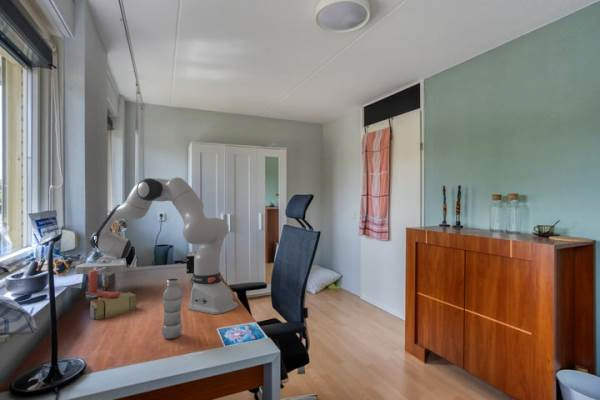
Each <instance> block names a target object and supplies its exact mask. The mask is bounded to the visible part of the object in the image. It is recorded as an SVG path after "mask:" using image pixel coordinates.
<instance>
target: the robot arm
mask: <svg viewBox="0 0 600 400" xmlns="http://www.w3.org/2000/svg"><path fill="white" fill-rule="evenodd" d="M167 201H169V202H171V203H172V205H173V206H174V207H175V209H176V210H177V212H178V213H179V215H180V216H181V218H182V221H183V224H184V227H183V230H182V236H183V239H184V240H185V241H186V243H189V244H191V245H199V247H198V250H197V251H196V252H197V253H196V254H195V257H194V273H193V282H194V283H192V284H193V285H192V288H191V290H190V291H191V292H190V301H189V305H188V307H187V309H188V310H192V311H197V312H201V313H206V314H210V315H211V314H212V315H219V314H220V315H221V314H224V313H227V312H230V311H232V310H234V309H236V308H238V306H239V303H238V302H236V301H234V300H233V293H232V291H231V290H230V288H228V287H227V286H226V284H225V283H224V282H223V279H224V275H222V274H221V271H220V260H221V259H220V256H221V251H222V247H223V243H224V240H225V238H226V236H227V235H228V233H229V228H230V227H229V224H228V223H227V221H226V220H224V219H221V218H218V217H211V218H210V217H209V218H208V217H207V216H206V215H205V213H204V203H203V202H202V200H201V199H200V197H199V196H198V195H197V193H196V191H194V189H193V188H192V187H191V186H190V185H189V184H188V182H186V180H185V179H183V178H181V177H178V176H176V177H173V178H171V179H167V178H166V179H165V178H159V177H158V178H150V177H149V178H143V179H141V180H140V181H139V182H138V183H136V184H134V186H133V187H132V189H131V191H130V192H129V194H128V195H127V198H126V200H125V201H124V202H123V203H122V204H117V205H116V206H115V207H113V208H112V210H111V211H110V212H109V213H108V215H107V217H106V218H105V219H104V221H103V222H102V223H101V224H100V226H99V228H98V229H97V230H96V231H95V232H94V233H93V234H92V235H91V237H90V238H89V239H90V240H89V244H90V246H91V247H92V249H94V248H95V246H96V247H97V248H98V249H99V251H102V252H104V253H106V254H104V255H105V256H104V255H102V256H101V257H99V258H98V259H96V261H95V262H88V263H87V262H86V263H81V264H78V265H76V266H75V271H74V273H75V275H86V274H87V275H89V271H91V270H97V275H101V276H107V275H110V274H111V275H112V274H114V273H125V272H127V259H126V258H127V257H128V256H129V254H130V252H131V250H132V242H131V240H130V239H129V238H126V237H123V236H120V235H118V234H116V233H113V232H111V231H110V229H111V227H112V226H113V224H114V223H115V222H116V221H117V220H128V221H129V220H130V221H131V220H132V221H133V220H139V219H142V218H143V217H145V216H146V215H147V213H148V212H149V210H150V209H151V206H152V203H153V202H160V203H161V202H167ZM94 236H97V241H96V243H95V240H94ZM98 249H97V250H98Z"/></svg>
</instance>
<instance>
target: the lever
mask: <svg viewBox="0 0 600 400" xmlns="http://www.w3.org/2000/svg"><path fill="white" fill-rule="evenodd" d="M120 293H121V292H120V291H105V290H104V291H103V290H98V274H97V270H91V271H89V274H88V293H87V294H88V295H89V296H100V297H103V296H108V297H117V296H119V295H120Z"/></svg>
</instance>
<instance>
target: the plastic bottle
mask: <svg viewBox="0 0 600 400" xmlns="http://www.w3.org/2000/svg"><path fill="white" fill-rule="evenodd" d="M182 300H183V292H182V290H181V288H180V287H179V279H178V278H175V277H173V278H169V279H167V280H166V288H165V290H164V292H163V294H162V302H163V313H164V314H163V323H162V327H161V328H162V329H161V333H162V334H161V335H162V337H163V338H164V339H168V340H171V339H176V338H178V337H180V335H181V334H182V332H183V325H182V318H181V309H182Z"/></svg>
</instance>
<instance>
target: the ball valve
mask: <svg viewBox="0 0 600 400" xmlns="http://www.w3.org/2000/svg"><path fill="white" fill-rule="evenodd" d="M197 252H198V251H196V250H193V251H189V252H188V253H187V256H186V270H185V271H186V274H187V275H189V274H190V276H189V282H190V283H191V284H194V282H193V273H194V257H195V254H196V253H197Z"/></svg>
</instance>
